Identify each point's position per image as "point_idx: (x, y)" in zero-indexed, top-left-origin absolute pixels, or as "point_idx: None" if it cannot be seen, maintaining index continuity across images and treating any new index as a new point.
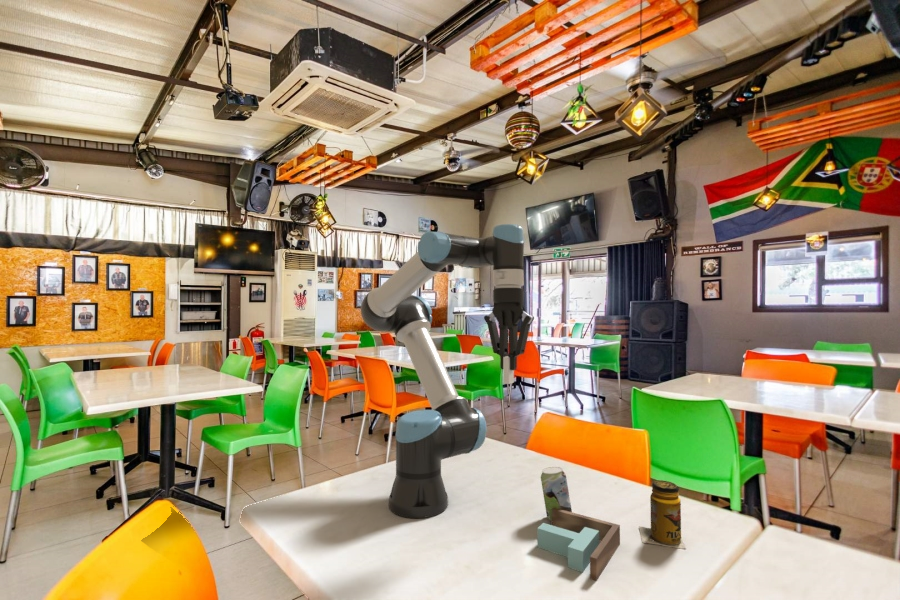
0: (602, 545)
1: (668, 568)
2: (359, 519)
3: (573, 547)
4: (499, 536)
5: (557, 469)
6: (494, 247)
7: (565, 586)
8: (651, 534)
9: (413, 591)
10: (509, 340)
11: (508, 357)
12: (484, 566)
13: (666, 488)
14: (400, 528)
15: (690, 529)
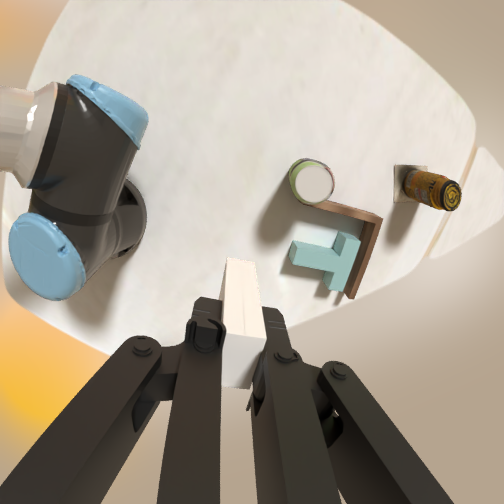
0: (361, 273)
1: (405, 243)
2: None
3: (334, 288)
4: (240, 249)
5: (323, 179)
6: None
7: (320, 307)
8: (404, 182)
9: None
10: (262, 479)
11: (248, 388)
12: None
13: (451, 210)
14: (127, 277)
15: (436, 153)
